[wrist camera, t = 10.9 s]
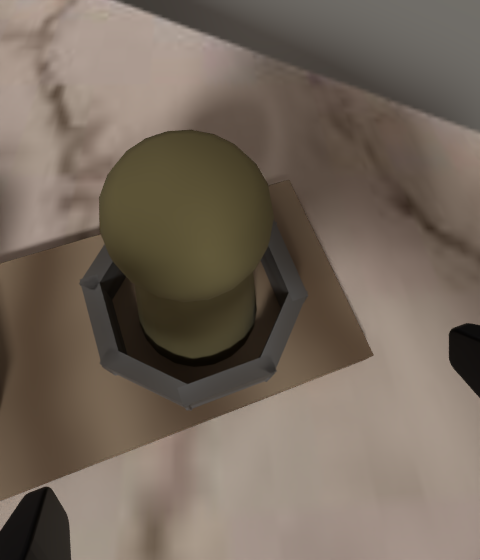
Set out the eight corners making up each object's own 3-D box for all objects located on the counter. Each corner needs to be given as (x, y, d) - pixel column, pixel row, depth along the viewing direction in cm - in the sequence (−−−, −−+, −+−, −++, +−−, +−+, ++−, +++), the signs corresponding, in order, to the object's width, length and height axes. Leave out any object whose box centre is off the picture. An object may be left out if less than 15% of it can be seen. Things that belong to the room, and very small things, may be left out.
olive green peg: (178, 391, 20) (140, 338, 9) (116, 291, 21) (27, 152, 11) (280, 323, 21) (342, 214, 11) (215, 234, 23) (217, 66, 13)
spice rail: (285, 191, 26) (327, 43, 16) (365, 359, 22) (480, 298, 13) (-278, 357, 20) (-713, 283, 11) (-291, 613, 17) (-952, 840, 7)
